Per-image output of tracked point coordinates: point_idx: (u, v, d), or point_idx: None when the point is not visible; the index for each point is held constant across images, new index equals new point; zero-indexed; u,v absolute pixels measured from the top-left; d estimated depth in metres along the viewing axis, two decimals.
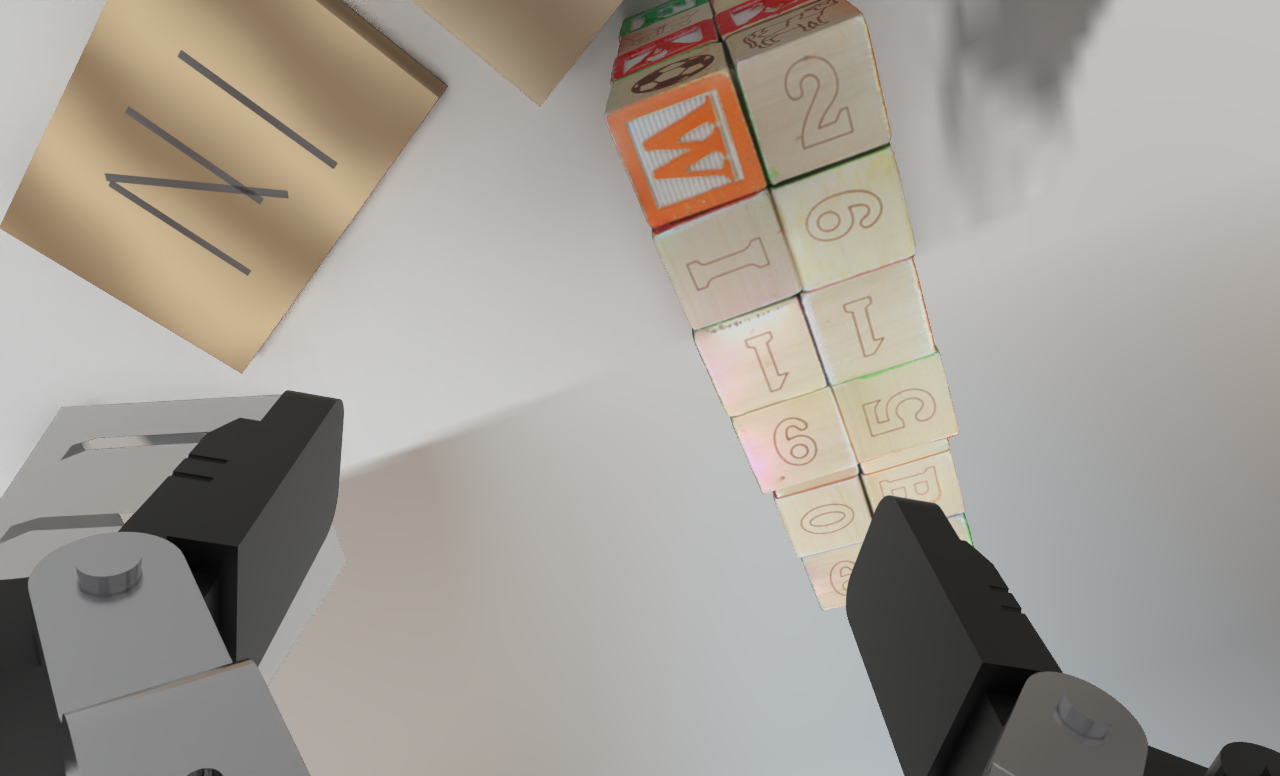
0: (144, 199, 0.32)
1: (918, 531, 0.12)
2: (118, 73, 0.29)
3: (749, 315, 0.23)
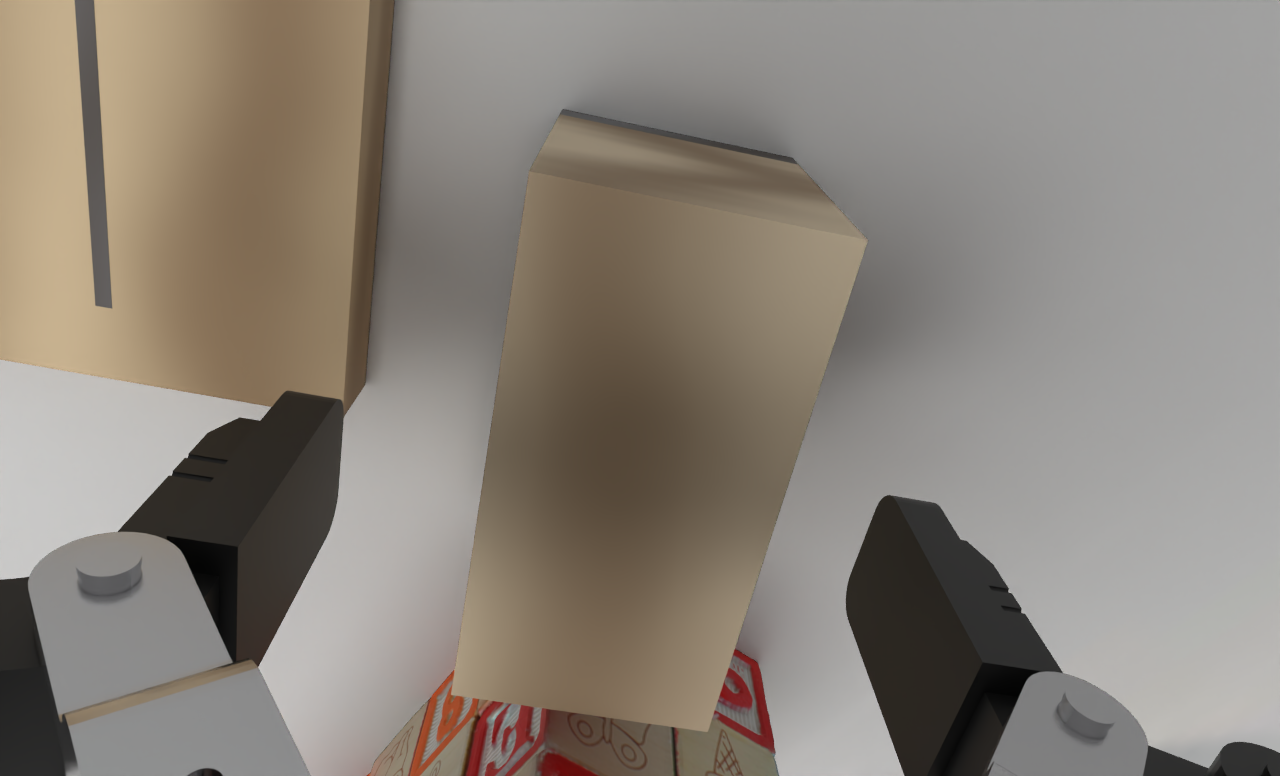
0: None
1: (918, 531, 0.12)
2: None
3: None
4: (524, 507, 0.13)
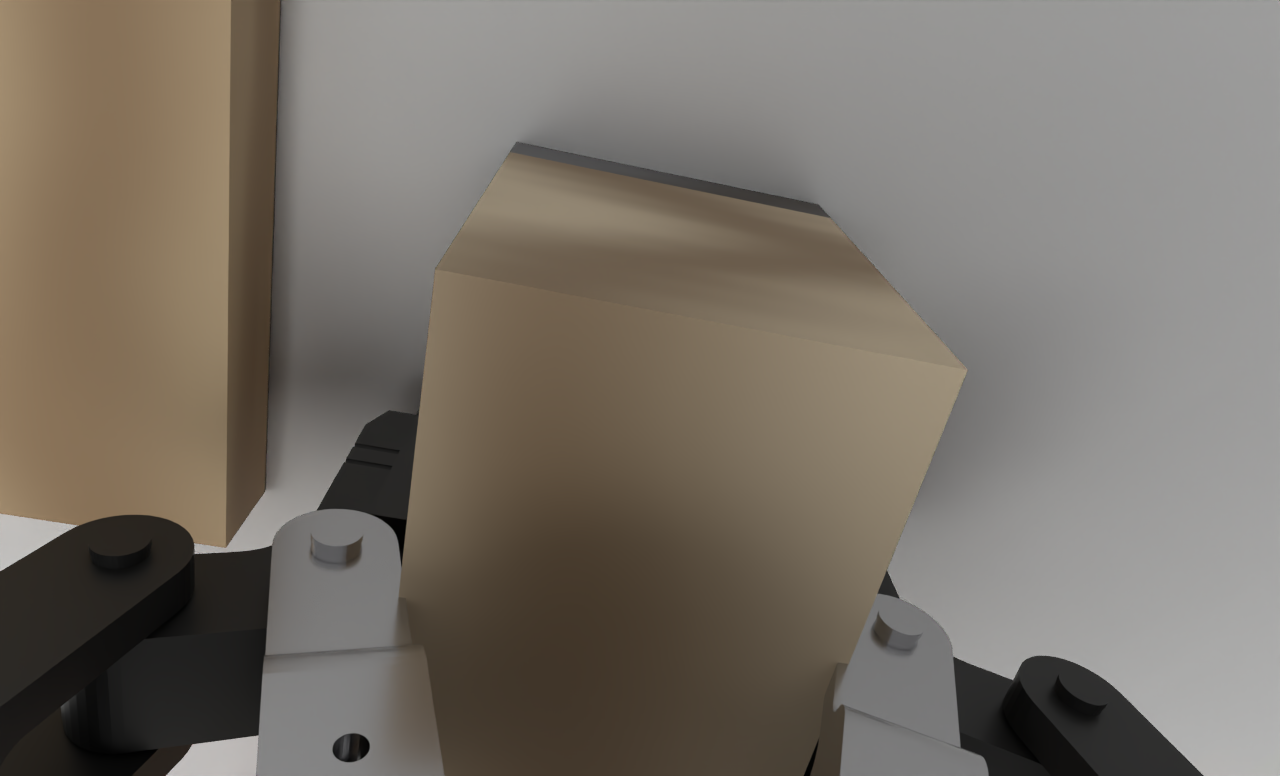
0: None
1: None
2: None
3: None
4: (450, 735, 0.09)
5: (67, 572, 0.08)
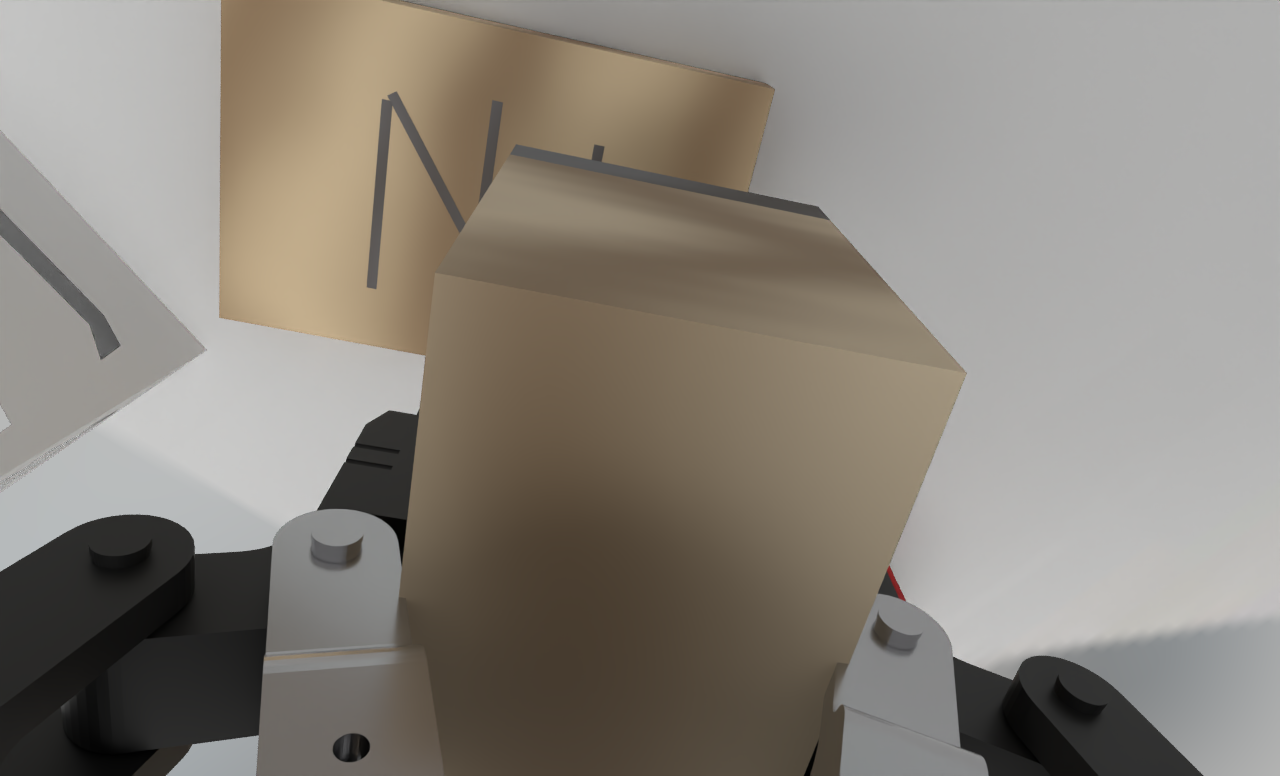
0: (390, 144, 0.24)
1: None
2: (537, 82, 0.24)
3: None
4: (449, 737, 0.09)
5: (67, 572, 0.08)
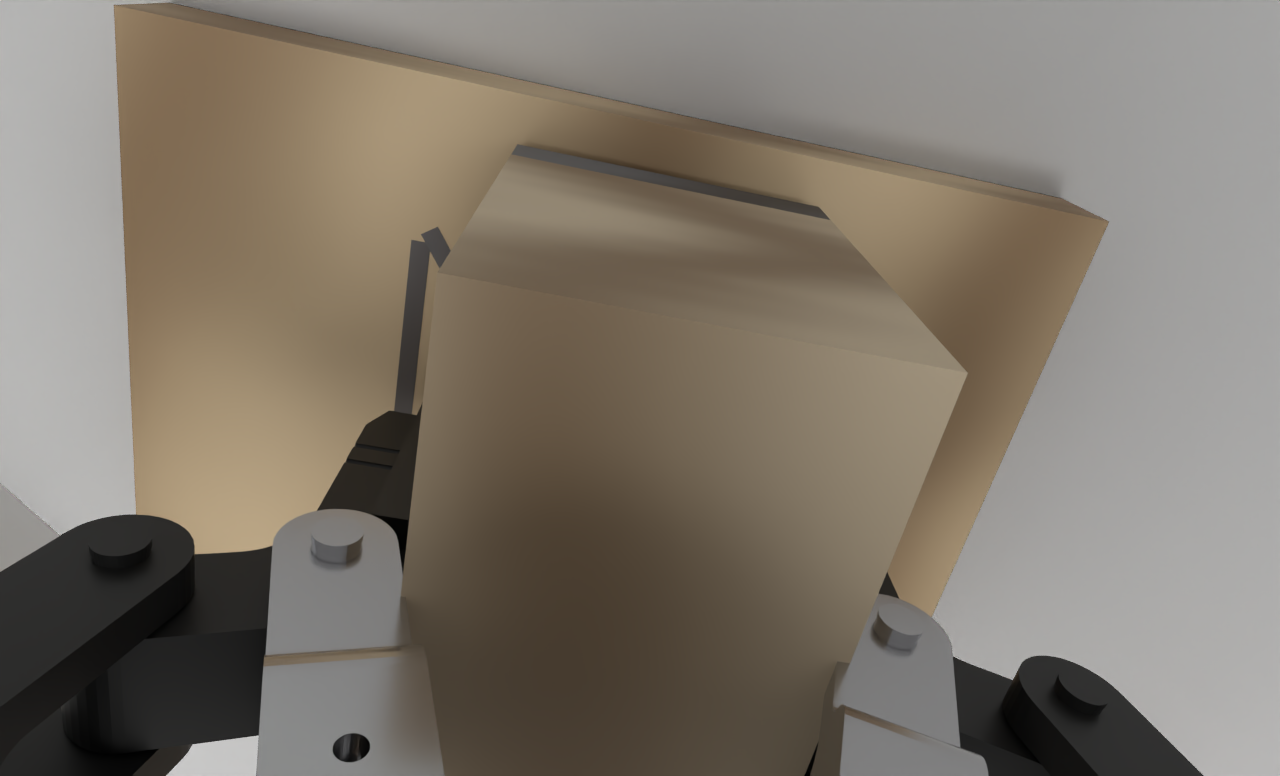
0: (424, 312, 0.14)
1: None
2: None
3: None
4: (451, 736, 0.09)
5: (67, 572, 0.08)
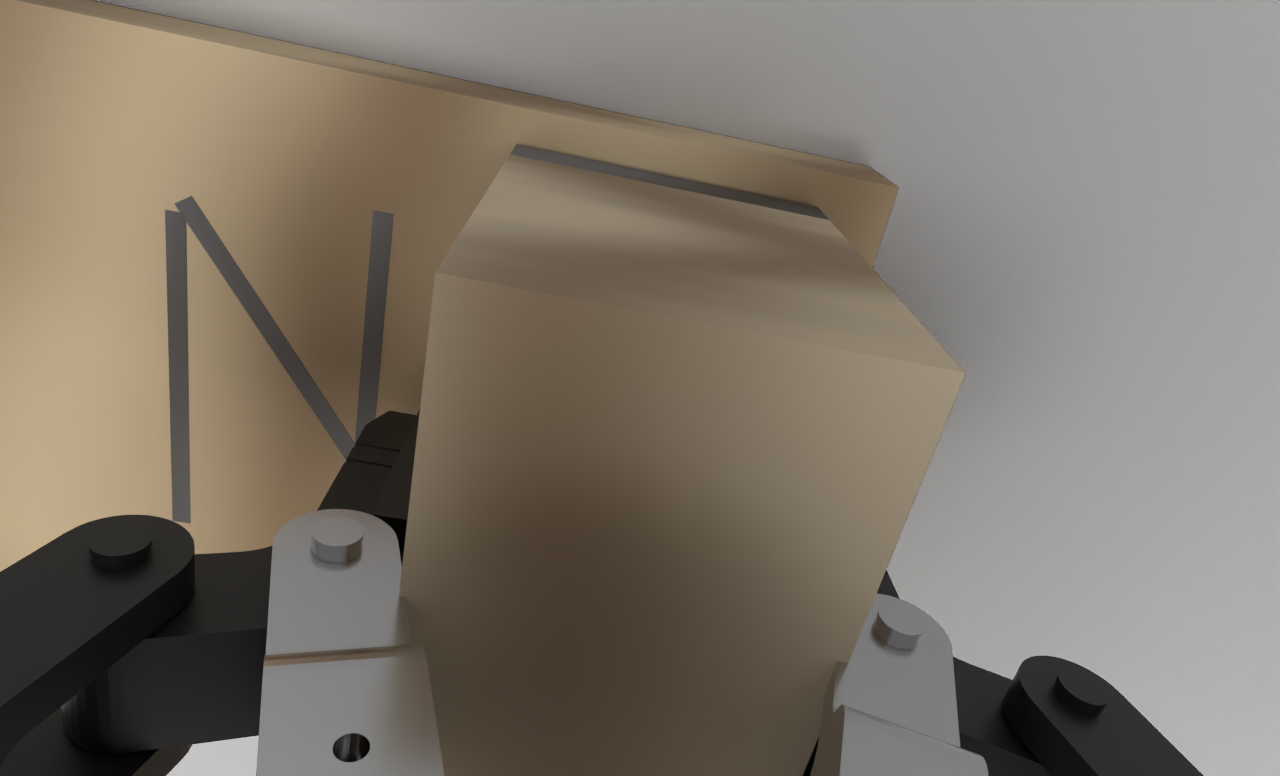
0: (190, 287, 0.13)
1: None
2: (455, 178, 0.13)
3: None
4: (450, 735, 0.09)
5: (68, 572, 0.08)
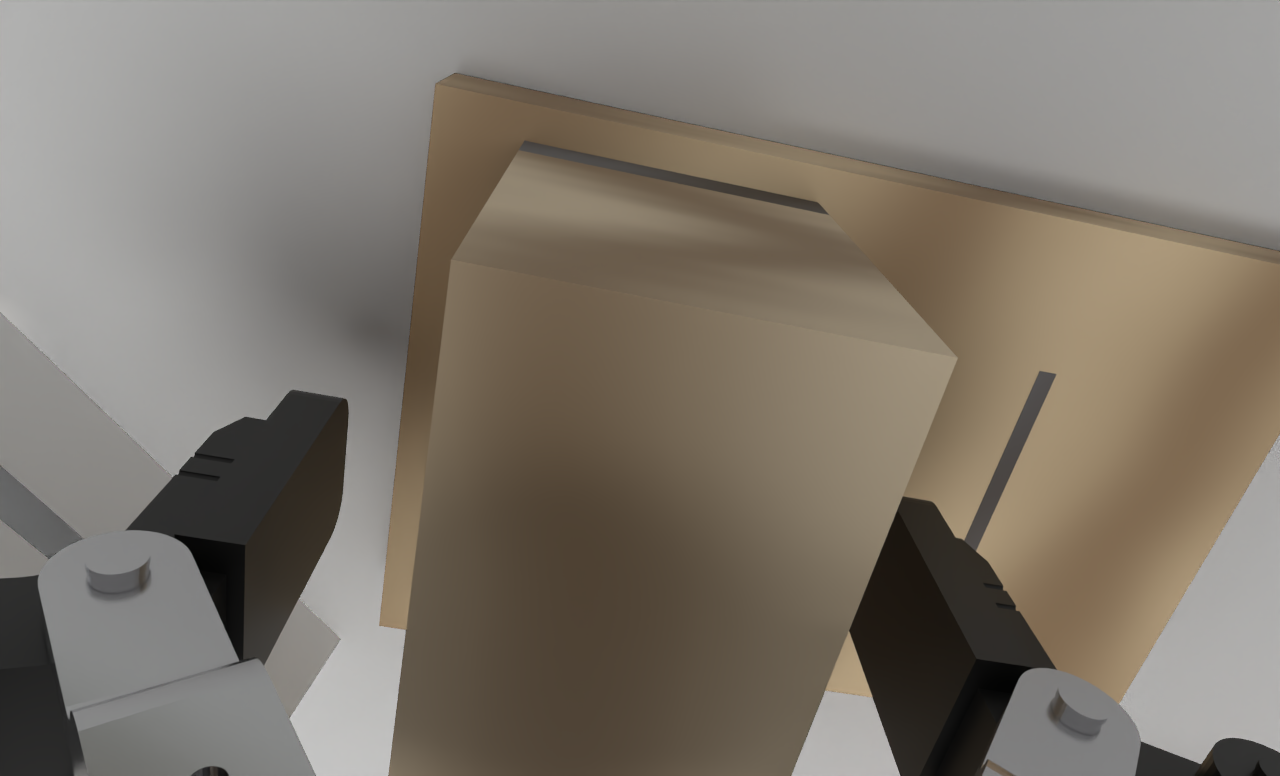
0: None
1: (913, 528, 0.12)
2: (963, 276, 0.14)
3: None
4: (460, 710, 0.09)
5: None
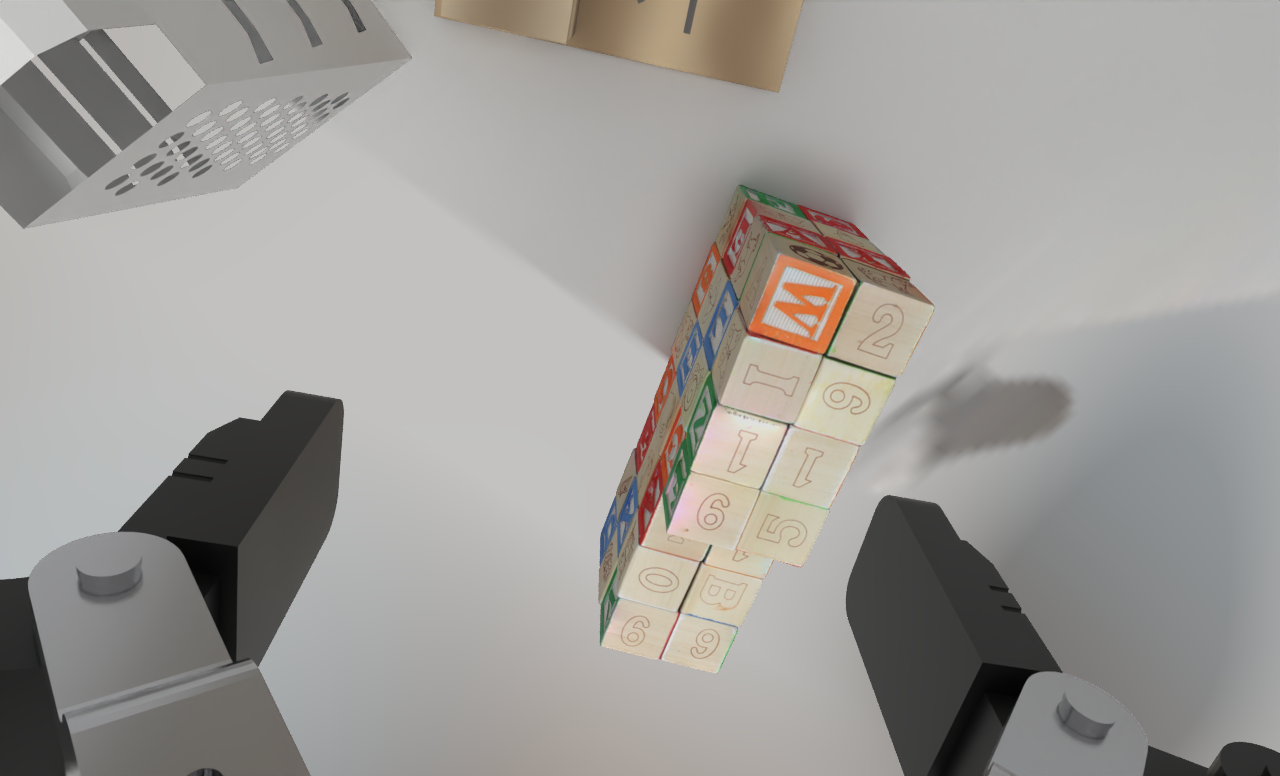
0: None
1: (918, 531, 0.12)
2: None
3: (755, 417, 0.33)
4: None
5: None
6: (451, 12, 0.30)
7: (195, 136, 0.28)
